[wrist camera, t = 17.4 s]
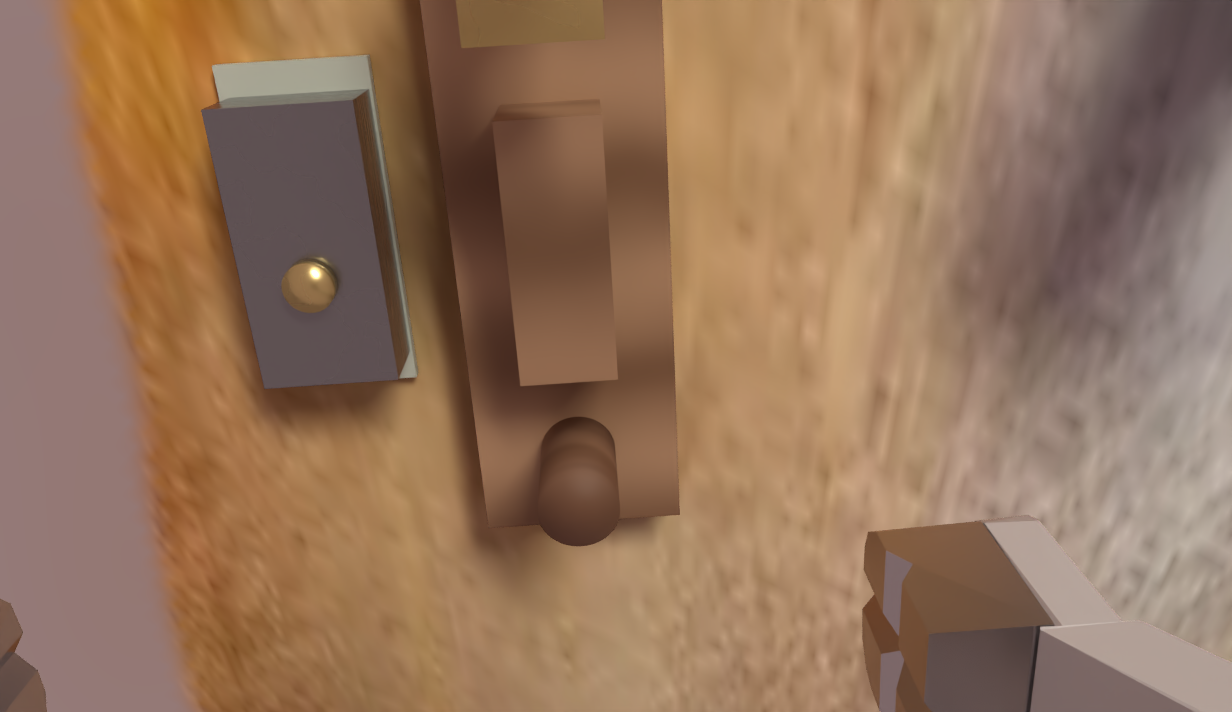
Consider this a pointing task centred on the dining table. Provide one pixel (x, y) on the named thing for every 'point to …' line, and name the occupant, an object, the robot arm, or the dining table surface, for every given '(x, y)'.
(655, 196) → the plane body
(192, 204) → the dining table surface
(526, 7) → the lever
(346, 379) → the purple-grey knobbed block
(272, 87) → the pale grey flat slab
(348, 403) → the dining table surface
